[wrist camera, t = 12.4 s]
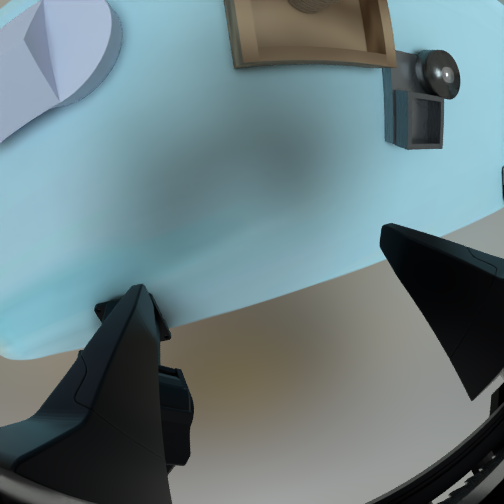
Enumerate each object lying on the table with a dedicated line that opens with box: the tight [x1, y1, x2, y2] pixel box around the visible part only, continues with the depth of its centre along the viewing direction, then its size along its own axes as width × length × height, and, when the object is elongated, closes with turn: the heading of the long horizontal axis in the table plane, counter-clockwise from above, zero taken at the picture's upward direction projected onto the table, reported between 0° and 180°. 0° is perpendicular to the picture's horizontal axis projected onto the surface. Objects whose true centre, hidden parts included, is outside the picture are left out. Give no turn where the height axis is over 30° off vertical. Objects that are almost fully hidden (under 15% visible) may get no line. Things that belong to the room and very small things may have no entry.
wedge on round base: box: [0, 0, 122, 143], centre depth 9 cm, size 9×7×13 cm
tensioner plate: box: [382, 50, 460, 150], centre depth 18 cm, size 10×8×4 cm
